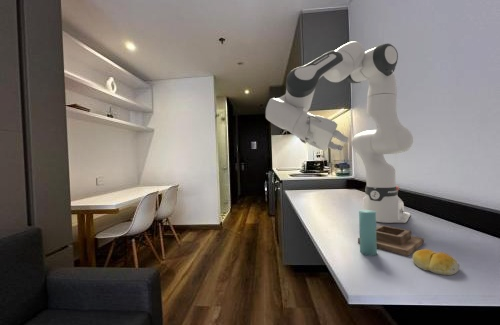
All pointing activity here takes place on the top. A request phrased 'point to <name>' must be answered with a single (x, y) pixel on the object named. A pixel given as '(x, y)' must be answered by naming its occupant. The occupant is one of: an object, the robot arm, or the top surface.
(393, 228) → the walnut base
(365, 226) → the teal post
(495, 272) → the top surface
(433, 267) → the bread roll
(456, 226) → the top surface
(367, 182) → the robot arm
